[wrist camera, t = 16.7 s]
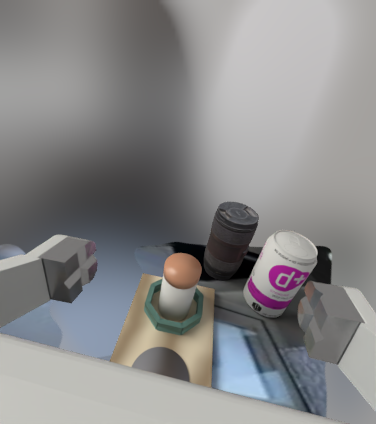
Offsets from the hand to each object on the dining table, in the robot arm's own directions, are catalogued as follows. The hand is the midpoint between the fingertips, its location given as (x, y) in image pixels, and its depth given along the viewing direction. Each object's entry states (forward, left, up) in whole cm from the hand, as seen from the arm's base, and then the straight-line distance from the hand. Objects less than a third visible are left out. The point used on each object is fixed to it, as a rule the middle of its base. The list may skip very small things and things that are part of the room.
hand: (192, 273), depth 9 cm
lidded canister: (0, +18, -28) cm, 34 cm away
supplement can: (+17, +25, -30) cm, 42 cm away
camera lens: (+8, +31, -30) cm, 44 cm away
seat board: (0, +13, -30) cm, 32 cm away
